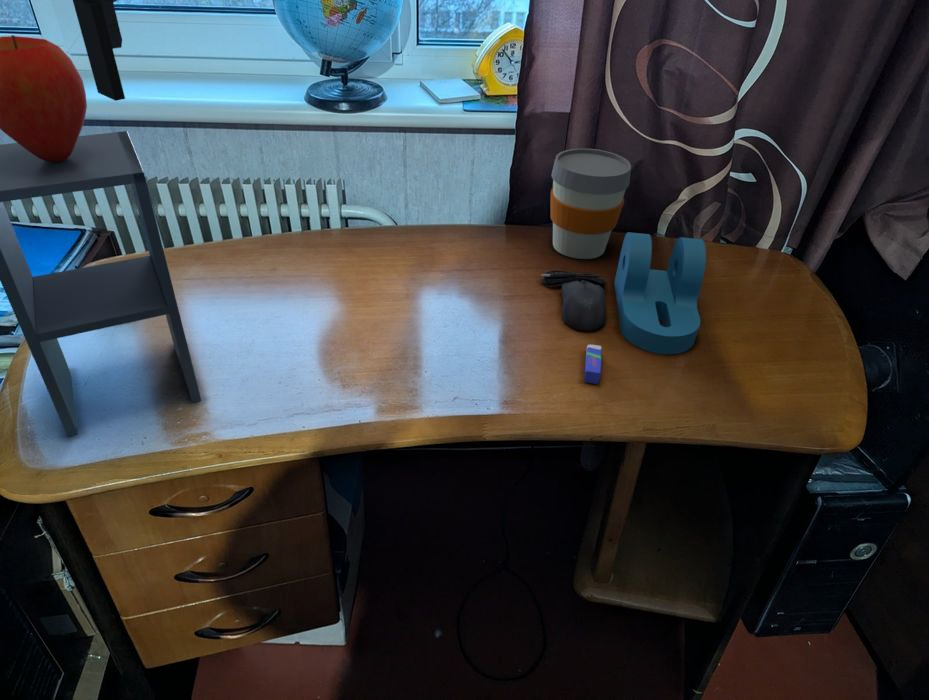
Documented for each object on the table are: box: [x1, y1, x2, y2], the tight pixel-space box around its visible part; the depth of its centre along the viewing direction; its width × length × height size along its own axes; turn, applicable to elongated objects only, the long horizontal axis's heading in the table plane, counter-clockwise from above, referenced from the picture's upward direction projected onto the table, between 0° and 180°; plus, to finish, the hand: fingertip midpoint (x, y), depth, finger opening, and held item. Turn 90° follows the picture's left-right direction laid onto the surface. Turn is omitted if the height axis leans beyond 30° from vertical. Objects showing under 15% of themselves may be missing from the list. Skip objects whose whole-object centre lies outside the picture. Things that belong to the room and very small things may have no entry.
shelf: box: [0, 130, 202, 438], centre depth 70 cm, size 12×14×28 cm
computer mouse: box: [541, 269, 607, 332], centre depth 97 cm, size 10×15×4 cm
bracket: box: [613, 231, 707, 355], centre depth 93 cm, size 18×10×10 cm, turn 173°
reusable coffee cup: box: [550, 147, 632, 260], centre depth 109 cm, size 13×13×15 cm
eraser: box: [583, 343, 603, 385], centre depth 85 cm, size 2×6×2 cm, turn 168°
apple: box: [0, 34, 88, 162], centre depth 59 cm, size 9×8×11 cm
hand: (16, 114), depth 46 cm, fingers open, 13 cm apart
